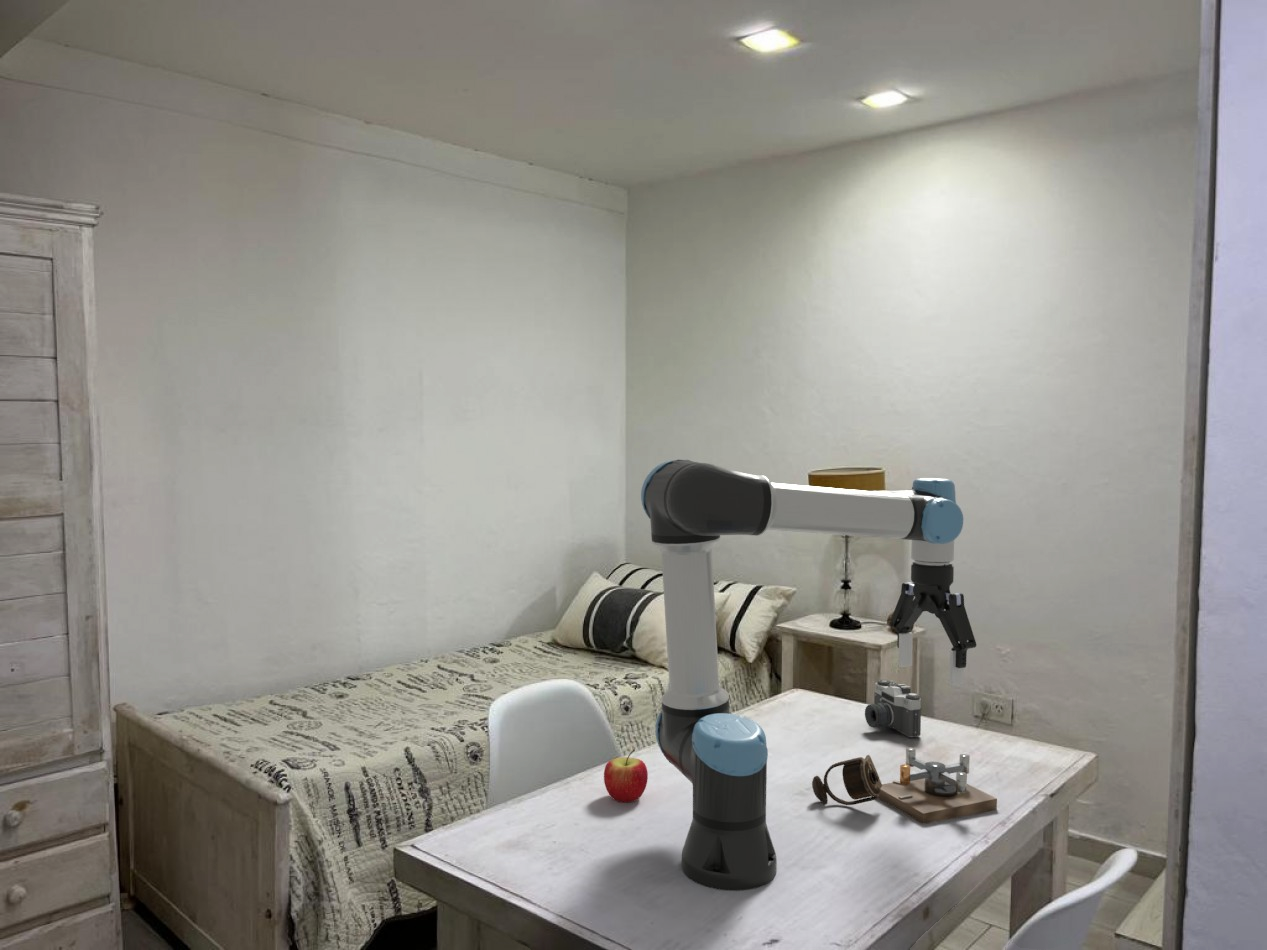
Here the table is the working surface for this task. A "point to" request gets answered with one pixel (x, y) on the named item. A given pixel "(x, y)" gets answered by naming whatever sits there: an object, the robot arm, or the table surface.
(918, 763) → the grey star handwheel
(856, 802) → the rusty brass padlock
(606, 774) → the apple
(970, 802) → the stand board
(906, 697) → the camera
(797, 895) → the table surface
